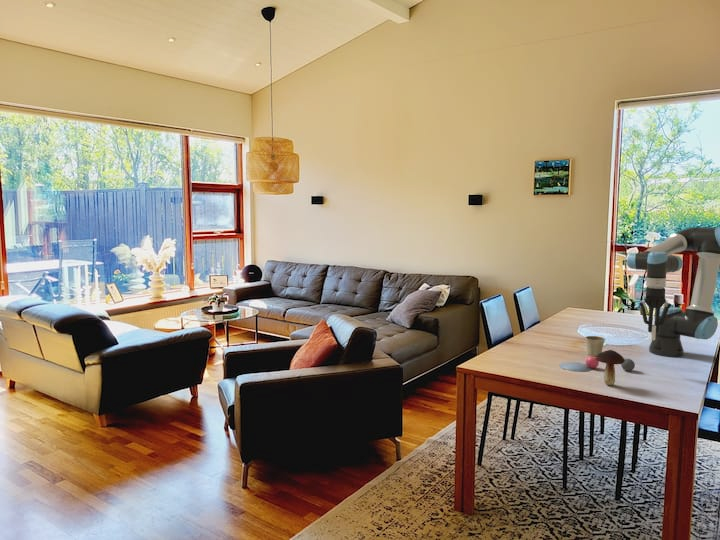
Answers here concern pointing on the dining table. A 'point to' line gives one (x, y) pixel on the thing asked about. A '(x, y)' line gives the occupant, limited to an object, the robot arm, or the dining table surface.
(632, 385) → the dining table surface
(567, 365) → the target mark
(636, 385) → the dining table surface
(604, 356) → the decorative mushroom
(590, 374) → the dining table surface
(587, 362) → the cranberry ball
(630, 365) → the grey ball
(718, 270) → the robot arm
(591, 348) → the flower pot
